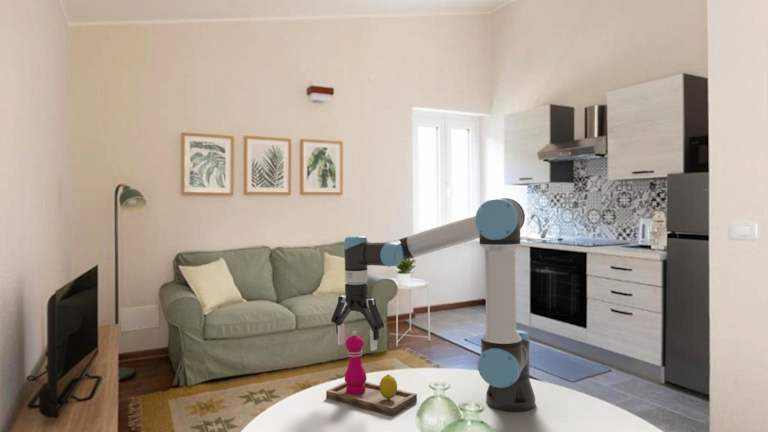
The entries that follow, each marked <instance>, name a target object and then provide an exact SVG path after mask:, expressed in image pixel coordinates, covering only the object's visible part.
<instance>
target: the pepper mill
mask: <svg viewBox="0 0 768 432" xmlns="http://www.w3.org/2000/svg"><path fill="white" fill-rule="evenodd" d="M364 343H365V342H364V339H363V338H362V337H361V336H359V335H358V332H357V331H356V330H353V331H351V335H350V336H348V337H347V338H346V339H345V347H346V349H347V351H346V353H347V354H346V355H347V356H348V366H347V369H346V370H345V374H344V383H345V382H346V383H347V384H348V385H347V386H346V391H347V393H349V394H353V395H357V394H362V393H364V392H365V385H364V383H365V382H367V374H366V371H365V369H364V366H363V364H362V355H363V350H362V349H363V347H364Z"/></svg>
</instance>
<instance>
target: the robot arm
mask: <svg viewBox="0 0 768 432" xmlns="http://www.w3.org/2000/svg"><path fill="white" fill-rule="evenodd" d="M525 220H526V215H525V211H524V208H523V207H522V205H521V204H520V203H519V202H517V200H514V199H512V198H507V197H506V198H505V197H492V198H490V199H488V200H486V201H484V202H483V203H482V204H481V205H480V206H479V207H478V209H477V211H476V213H475V214H474V215H471V216H470V215H469V216H467V217H464V218H461V219H458V220H455V221H452V222H449V223H445V224H443V225H440V226H436V227H434V228H431V229H428V230H424V231H420V232H418V233H416V234H412V235H409V236H407V237H406V236H405V237H402V238H399V239H396V240H390V241H384V242H383V241H382V242H370V241H368V238H367V236H365V235H349V236H346V237H345V238H344V245H343V246H344V250H343V252H344V282H345V284H344V295H339V296H337V297H338V299H337V304H336V307H335V309H334V312H333V314H332V318H331V321H330V322H331V323H334V324H335V326H336V327H335V328H336V329H335V330H336V331H335V333H336V335H337V345H338V346H340V345H344V344H346V339H345V336H346V335H345V328H346V327H345V323H344V321H345V320H346V319H347V317H348V316H349V314H350V313H351V312H358V313H359V312H360V314H361V315H363V317H364V318H365V320H366V322H367V323H368V325H369V326H370V328H371V329H370V336H369V337H370V340H369V341H370V351H371V352H373V351H376V350H377V349H378V341H379V339H380V329H383V328H384V327H385V324H384V322H383V320H382V317H381V314H380V311H379V310H378V307H377V302H376V301H377V300H376V299H375V298H374V297H373V298H368V293H369V288H368V287H369V286H368V285H369V284H368V283H367V282H368V280H369V277H368V274H369V273H368V266H376V267H377V266H380V267H388V268H389V267H398V266H400V265H401V263H402V262H405V261H408V260H410V259H414V258H417V257H420V256H424V255H427V254H430V253H433V252H437V251H440V250H443V249H447V248H450V247H451V248H452V247H453V246H458V245H461V244H463V243H468V242H471V241H473V240H474V241H475V240H477V239H479V246H480V247H482V249H484V264H485V265H484V267H485V268H484V269H485V270H484V271H485V272H484V273H485V275H484V276H485V278H484V281H485V332H484V333H483V334H481V336H480V349H481V351H480V355H479V357H478V361H477V370H478V373H479V376H480V378H481V379H483V381H485V382H486V384H488V387H487V390H486V394H485V398H486V399H485V400H486V403H487V404H488V405H489V406H490V407H492V408H494V409H497V410H501V411H505V412H506V411H507V412H524V411H525V412H526V411H529V410H532V409H533V408H535V406H536V396H535V392H534V389H533V387H532V384H531V383H532V382H531V381H530V343H531V341H530V335H529V333H528V332H527V331H524V330H519V329H517V301H516V300H517V295H516V294H517V293H516V292H517V290H516V289H517V287H516V285H517V284H516V250H517V248H518V247H519V246H520V245H521V229H522V228H523V226H524V223H525ZM345 304H346V305H345ZM344 306H345V307H344Z"/></svg>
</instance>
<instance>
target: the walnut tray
mask: <svg viewBox="0 0 768 432" xmlns="http://www.w3.org/2000/svg"><path fill="white" fill-rule="evenodd" d="M347 385H348V384H347V383H346V382H345V381H344V382H343V383H340V384H339V385H336V386H334V387H332V388H329V389H327V390H325V391H326V394H325V395H326V396H325V397H326V399H327V400H330V401H334V402H337V403H341V404H345V405H348V406H351V407H352V406H353V407H356V408H358V409H359V408H360V409H363V410H366V411H371V412H373V413H378V414H381V415H385V416H387V417H395V416H396V415H398V414H399V413H402V411H404V410H406V409H407V408H409V407H411V406H413V405H414V404H416V403H417V402H418V397H417V396H418V395H417V393H414V392H410V391H406V390H401V389H398V388H397V392H396V394H395V396H394V397H392V398H390V400H388V399H387V398H385V397H383V396H382V394H381V392H380V384H376V383H372V382H367V381H365V383H364V385H365V392H364V393H362V394H357V395H353V394H349V393H347V391H346V386H347Z"/></svg>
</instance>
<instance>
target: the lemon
mask: <svg viewBox="0 0 768 432" xmlns="http://www.w3.org/2000/svg"><path fill="white" fill-rule="evenodd" d="M397 383H398V382H397V380H396V378H395V377H394V376H393V375H391V374H385V375H384V376H383V377H382V378H381V379H380V383H379V385H380V392H381V394H382V396H383V397H385V398H387V399H388V400H390V398H392V397H394V396H395V394H396V392H397V389H398V384H397Z"/></svg>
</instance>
